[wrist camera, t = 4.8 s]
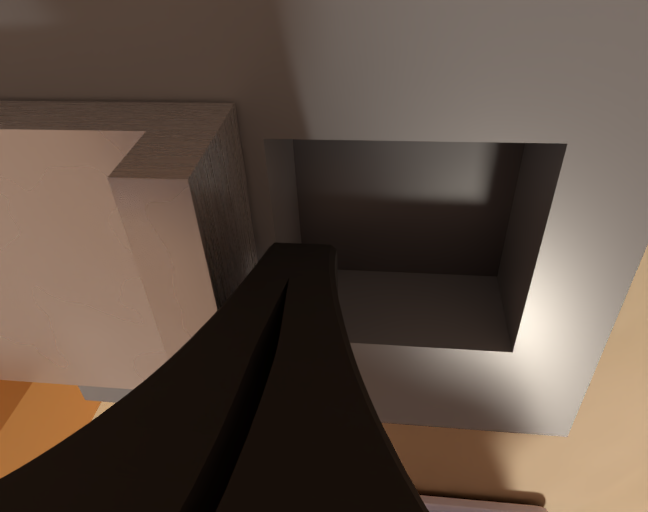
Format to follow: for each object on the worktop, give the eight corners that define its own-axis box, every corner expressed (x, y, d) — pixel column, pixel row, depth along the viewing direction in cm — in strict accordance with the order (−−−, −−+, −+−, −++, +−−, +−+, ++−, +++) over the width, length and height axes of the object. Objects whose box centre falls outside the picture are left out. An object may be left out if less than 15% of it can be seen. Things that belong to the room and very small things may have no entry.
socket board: (545, 353, 17) (567, 436, 15) (124, 328, 19) (85, 400, 16) (689, -99, 10) (779, -74, 7) (-31, -75, 11) (-144, -48, 9)
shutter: (273, 360, 14) (250, 455, 12) (23, 344, 15) (-40, 430, 13) (234, 102, 10) (187, 179, 8) (-116, 99, 10) (-246, 168, 8)
